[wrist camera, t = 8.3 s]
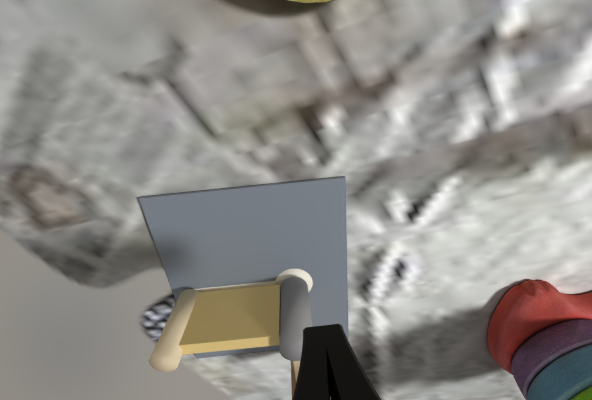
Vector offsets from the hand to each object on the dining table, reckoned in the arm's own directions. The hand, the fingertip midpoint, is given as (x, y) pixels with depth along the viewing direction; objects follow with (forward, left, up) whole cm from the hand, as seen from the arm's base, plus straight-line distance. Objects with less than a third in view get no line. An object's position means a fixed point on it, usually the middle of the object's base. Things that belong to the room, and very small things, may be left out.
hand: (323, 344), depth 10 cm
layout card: (-4, +4, -9) cm, 11 cm away
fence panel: (-5, +5, -9) cm, 11 cm away
